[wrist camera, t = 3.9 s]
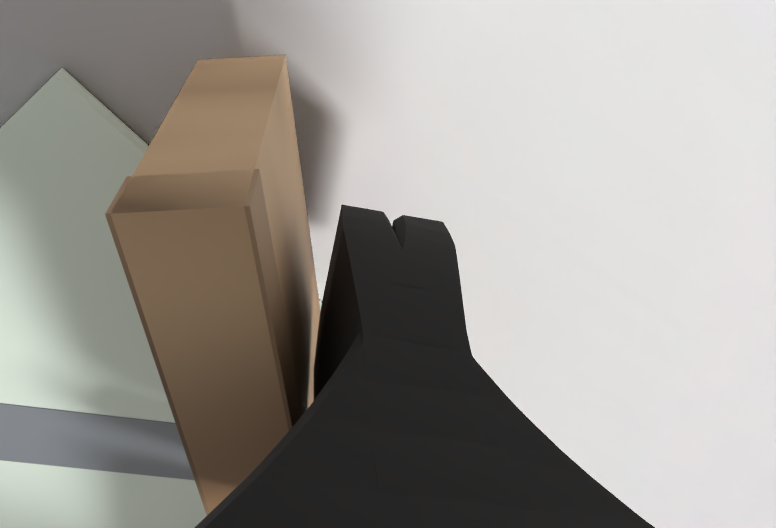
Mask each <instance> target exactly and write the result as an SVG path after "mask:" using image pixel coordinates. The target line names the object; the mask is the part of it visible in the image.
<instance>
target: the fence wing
mask: <svg viewBox="0 0 776 528" xmlns="http://www.w3.org/2000/svg"><path fill="white" fill-rule="evenodd" d="M105 216H106V219H107V222H108V225H109V228H110V231H111V234H112V237H113V240H114V243H115V246H116V249H117V251H118V254H119V257H120V260H121V263H122V266H123V269H124V272H125V275H126V278H127V281H128V284H129V287H130V290H131V293H132V296H133V299H134V302H135V305H136V308H137V311H138V314H139V317H140V320H141V322H142V325H143V328H144V331H145V334H146V337H147V340H148V343H149V346H150V349H151V352H152V355H153V358H154V361H155V364H156V367H157V370H158V373H159V376H160V379H161V382H162V385H163V388H164V391H165V394H166V396H167V399H168V402H169V405H170V408H171V411H172V414H173V417H174V420H175V423H176V426H177V429H178V432H179V435H180V438H181V441H182V444H183V447H184V450H185V453H186V456H187V459H188V462H189V465H190V467H191V470H192V473H193V476H194V479H195V482H196V485H197V488H198V491H199V494H200V497H201V500H202V503H203V506H204V509H205V512H206V515H208V514H209V513H210V512H211V511H212V510H213V509H214V508H215V507H217V506H218V505H219V504H220V503H221V502H222V501H223V500H224V499H225V498H226V497H227V496H228V495H229V494H230V493H231V492H232V491H233V490H234V489H235V488H236V487H237V486H238V485H240V484H241V483H242V482H243V481H244V480H245V479H246V478H247V477H248V476H249V475H250V474H251V473H252V472H253V471H254V470H255V469H256V467H257V466H258V465H259V464H260V463H261V462H262V461H263V460H264V459H265V458H266V456H267V455H268V454H269V453H270V452H271V451H272V450H273V449H274V447H275V446H276V445H277V444H278V443H279V442H280V441H281V440H282V438H283V437H284V436H285V435H286V434H287V433H288V432H289V430H290V429H291V428H292V427H293V426H294V425H295V424H296V423H297V421H298V420H299V419H300V418H301V416H302V415H303V414H304V413H305V411H306V410H307V409H308V408H309V406H310V405H311V404H312V403H313V401H314V361H315V353H316V344H317V335H318V327H319V318H320V304H319V297H318V290H317V282H316V275H315V268H314V260H313V253H312V246H311V238H310V231H309V224H308V216H307V209H306V202H305V194H304V187H303V180H302V172H301V165H300V158H299V150H298V143H297V136H296V128H295V121H294V114H293V106H292V99H291V92H290V84H289V77H288V70H287V62H286V55H273V56H256V57H238V58H220V59H203V60H197V62H196V64H195V66H194V67H193V69H192V71H191V73H190V74H189V76H188V78H187V80H186V81H185V83H184V85H183V87H182V88H181V90H180V92H179V94H178V96H177V97H176V99H175V101H174V103H173V104H172V106H171V108H170V110H169V111H168V113H167V115H166V117H165V118H164V120H163V122H162V124H161V125H160V127H159V129H158V131H157V133H156V134H155V136H154V138H153V140H152V141H151V143H150V145H149V147H148V148H147V150H146V152H145V154H144V155H143V157H142V159H141V161H140V162H139V164H138V166H137V168H136V170H135V171H134V173H133V175H132V176H127V177H126V178H125V180H124V182H123V184H122V185H121V187H120V189H119V190H118V192H117V194H116V196H115V197H114V199H113V201H112V203H111V204H110V206H109V208H108V209H107V211H106V213H105Z"/></svg>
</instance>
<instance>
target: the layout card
mask: <svg viewBox="0 0 776 528" xmlns="http://www.w3.org/2000/svg"><path fill="white" fill-rule="evenodd" d="M148 147H149V146H148V145H147V144H146V143H145V142H144V141H143V140H142V139H141V138H139V137H138V136H137V135H136V134H135V133H134V132H133V131H132V130H131V129H130V128H128V127H127V126H126V125H125V124H124V123H123V122H122V121H121V120H120V119H118V118H117V117H116V116H115V115H114V114H113V113H112V112H111V111H110V110H109V109H107V108H106V107H105V106H104V105H103V104H102V103H101V102H100V101H99V100H97V99H96V98H95V97H94V96H93V95H92V94H91V93H90V92H89V91H87V90H86V89H85V88H84V87H83V86H82V85H81V84H80V83H79V82H78V81H76V80H75V79H74V78H73V77H72V76H71V75H70V74H69V73H68V72H66V71H65V70H64V69H63V68H61V69H60V70H59V71H58V72H57V73H56V74H55V75H54V76H53V77H52V78H51V79H50V80H49V81H48V82H46V83H45V84H44V85H43V86H42V87H41V88H40V89H39V90H38V91H37V92H36V93H35V94H34V95H33V96H32V97H31V98H30V99H29V100H28V101H27V102H26V103H25V104H24V105H23V106H22V107H21V108H20V109H19V110H18V111H17V112H16V113H15V114H14V115H13V116H12V117H11V118H10V119H9V120H8V121H7V122H6V123H5V124H4V125H3V126H2V127H1V128H0V528H195V527H196V526H197V525H198V524H199V523H200V522H201V521H202V520H203V519H204V518H205V517H206V516H207V515H206V512H205V509H204V506H203V503H202V500H201V497H200V494H199V491H198V488H197V485H196V482H195V479H194V476H193V473H192V470H191V467H190V465H189V462H188V459H187V456H186V453H185V450H184V447H183V444H182V441H181V438H180V435H179V432H178V429H177V426H176V423H175V420H174V417H173V414H172V411H171V408H170V405H169V402H168V399H167V396H166V394H165V391H164V388H163V385H162V382H161V379H160V376H159V373H158V370H157V367H156V364H155V361H154V358H153V355H152V352H151V349H150V346H149V343H148V340H147V337H146V334H145V331H144V328H143V325H142V322H141V320H140V317H139V314H138V311H137V308H136V305H135V302H134V299H133V296H132V293H131V290H130V287H129V284H128V281H127V278H126V275H125V272H124V269H123V266H122V263H121V260H120V257H119V254H118V251H117V249H116V246H115V243H114V240H113V237H112V234H111V231H110V228H109V225H108V222H107V219H106V216H105V213H106V211H107V209H108V208H109V206H110V204H111V203H112V201H113V199H114V197H115V196H116V194H117V192H118V190H119V189H120V187H121V185H122V184H123V182H124V180H125V178H126V177H127V176H132V175H133V173H134V171H135V170H136V168H137V166H138V164H139V162H140V161H141V159H142V157H143V155H144V154H145V152H146V150H147V148H148ZM319 304H320V311H321V306H322V302H321V301H320V300H319Z"/></svg>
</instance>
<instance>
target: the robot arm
mask: <svg viewBox="0 0 776 528" xmlns="http://www.w3.org/2000/svg"><path fill="white" fill-rule="evenodd" d="M195 528H655V527H653V526H652V525H650V524H649V523H648V522H646V521H645V520H644V519H642V518H641V517H640V516H639V515H637V514H636V513H635V512H633V511H632V510H631V509H630V508H629V507H627V506H626V505H625V504H624V503H622V502H621V501H620V500H619V499H618V498H616V497H615V496H614V495H613V494H611V493H610V492H609V491H608V490H607V489H605V488H604V487H603V486H602V485H600V484H599V483H598V482H597V481H596V480H594V479H593V478H592V477H591V476H590V475H588V474H587V473H586V472H585V471H584V470H583V469H582V468H580V467H579V466H578V465H577V464H576V463H575V462H574V461H572V460H571V459H570V458H569V457H568V456H567V455H566V454H565V453H563V452H562V451H561V450H560V449H559V448H558V447H557V446H556V445H555V444H554V443H553V442H552V441H551V440H550V439H549V438H548V437H547V436H546V435H545V434H544V433H543V432H542V431H541V430H539V429H538V428H537V427H536V426H535V425H534V424H533V423H532V422H531V421H530V420H529V419H528V418H527V417H526V416H525V415H524V414H523V413H522V412H521V411H520V410H519V409H518V408H517V407H516V406H515V405H514V404H513V402H512V401H511V400H510V399H509V398H508V397H507V396H506V395H505V394H504V393H503V392H502V390H501V389H500V388H499V387H498V386H497V385H496V384H495V382H494V381H493V380H492V379H491V378H490V377H489V376H488V374H487V373H486V372H485V371H484V370H483V369H482V367H481V366H480V365H479V364H478V363H477V362H476V360H475V359H474V358H473V356H472V353H471V350H470V345H469V340H468V336H467V331H466V324H465V316H464V308H463V301H462V293H461V285H460V277H459V269H458V262H457V255H456V249H455V245H454V242H453V240H452V238H451V235H450V233H449V231H448V230H447V228H446V226H445V225H444V223H443V222H440V221H434V220H429V219H423V218H417V217H411V216H405V215H402V216H401V217H399V218H397V219H395V220H394V221H393V225H392V226H391V224H390V222H389V220H388V218H387V217H386V215H385V214H384V212H381V211H376V210H370V209H364V208H358V207H352V206H346V205H342V206H341V211H340V216H339V221H338V226H337V231H336V236H335V241H334V246H333V251H332V256H331V261H330V266H329V271H328V276H327V281H326V286H325V291H324V296H323V301H322V306H321V311H320V318H319V327H318V335H317V344H316V353H315V361H314V401H313V403H312V404H311V405H310V406H309V408H308V409H307V410H306V411H305V413H304V414H303V415H302V416H301V418H300V419H299V420H298V421H297V423H296V424H295V425H294V426H293V427H292V428H291V429H290V430H289V432H288V433H287V434H286V435H285V436H284V437H283V438H282V440H281V441H280V442H279V443H278V444H277V445H276V446H275V447H274V449H273V450H272V451H271V452H270V453H269V454H268V455H267V456H266V458H265V459H264V460H263V461H262V462H261V463H260V464H259V465H258V466H257V467H256V469H255V470H254V471H253V472H252V473H251V474H250V475H249V476H248V477H247V478H246V479H245V480H244V481H243V482H242V483H241V484H240V485H238V486H237V487H236V488H235V489H234V490H233V491H232V492H231V493H230V494H229V495H228V496H227V497H226V498H225V499H224V500H223V501H222V502H221V503H220V504H219V505H218V506H217V507H215V508H214V509H213V510H212V511H211V512H210V513H209V514H208V515H207V516H206V517H205V518H204V519H203V520H202V521H201V522H200V523H199V524H198V525H197V526H196V527H195Z"/></svg>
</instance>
